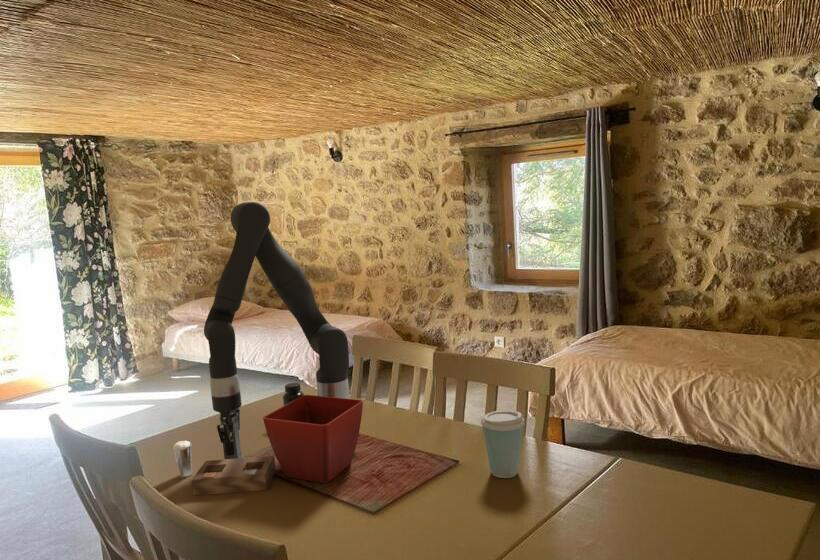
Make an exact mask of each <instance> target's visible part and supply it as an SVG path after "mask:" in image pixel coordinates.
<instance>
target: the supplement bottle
mask: <svg viewBox="0 0 820 560" xmlns="http://www.w3.org/2000/svg"><path fill="white" fill-rule="evenodd" d="M301 390H302V388H301V383H300V382H291V383H286V384H285V385H284V392H285V393H283V395H282V403H283V406H285V405H286V404H288V403H290V402H292V401H294V400H296V399H298V398H299V397H301V396H304V395H305V393H304V392H303V391H301Z"/></svg>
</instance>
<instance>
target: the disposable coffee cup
mask: <svg viewBox="0 0 820 560" xmlns="http://www.w3.org/2000/svg"><path fill="white" fill-rule="evenodd" d="M480 424H481V426H482V432H483V436H484V437H483V438H484V442H485V447H486V453H487V459H488V463H489V469H490V472H491V474H492V476H494V477H496V478H499V479H500V478H501V479H510V478H513V477H515V476H517V475H518V472H519V469H520V458H521V452H522V451H521V449H522V442H523V434H524V426H525V425H526V423H525V419H524V417H523V414H522V413H521V412H520V411H515V410H505V409H504V410H495V411H491V412H489V413H486V414H484V415H483V416H482V418H481V422H480Z"/></svg>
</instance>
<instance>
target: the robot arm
mask: <svg viewBox="0 0 820 560" xmlns="http://www.w3.org/2000/svg"><path fill="white" fill-rule="evenodd" d="M230 223H231V227H232V228H233V230H234V231H235V232H236V234H235V239H234V243H233V247H232V250H231V254H230V256H229V258H228V260H227V262H226V264H225V266H224V268H223V270H222V272H221V274H220V275H221V276H220V278H219V281H218V284H217V287H216V292H215V295H214V300H213V303H212V305H211V308H210V310H209V312H208V315H207V317H206V320H205V322H204V323H205V324H204V326H203V335H204V337H205V339H206V340H207V341H208V347H209V356H210V357H209V359H208V368H209V377H210V384H209V385H210V394H211V403H212V410H213V411H214V412H216V413H220V415H219V416H220V417H219V424H217V426H216V429H217V432H218V436H219V439H220V443H221V444H223V443H225V452H226V455H227V456H229V455H234V444H233V433H234V422H238V429H239V431H240V429H241V428H240V427H241V424H240V420H241V419H240V417H241V415H240V412H241V411H240V410H241V409H240V408H241V407H242V395H241V387H240V386H241V385H240V379H239V376H238V368H237V359H236V333H235V328H234V327H233V325H232V324H233V322H234V318H235V314H236V313H237V312H238V311H239V310H240V307H241V305H242V301H243V299H244V298H243V297H244V294H245V291H246V288H247V287H246V286H247V283H248V281H249V280H248V279H249V276H250V274H251V270H252V267H253V263H254V261H255V258H256V259H257V261H258V263H259V265H260V268H262V269H261V270H263V272H264V274H265V276H266V277H267V279H268V280H269V282H270V284H271V286H272V288H273V289H274V291H276V293H277V295H278V297H279V298H280V300H281V301H282V302H283V304H284V305H285V306H286V308H287V309H288V311H289V312H290V313H291V314H292V316H293V317H294V318H295V319H296V321H297V322H298V325H299V326H300V328H301V330H302V333H303V335H304V336H305V338H306V340H307V342H308V345H309V346H310V348H311V349H312V350H313V352H314V353H316V354H318V357H319V358H318V359H319V363H318V364H319V367H318V369H317V370H316V372H315V377H316V378H315V380H316V388H317V390H316V391H317V396H324V397H335V398H345V399H351V398H350V389H349V388H350V387H349V377H348V372H349V368H350V353H349V350H350V349H349V340H348V336H347V334H346V333H345V332H344V330H342V329H341V328H339V327H336V326H334V325H332V324H331V323H330V322H329V321H328V320H327V319H326V317H325V316H324V315H323V314H322V312H321V309H319V307H318V305H317V302H316V300H315V299H316V298H315V296H314V291H313V287H312V285H311V284H310V281H309V280H308V279H307V277H306V275H305V273H304V272H303V269H301V267H300V266H299V264H298V263H297V261H295V260H294V258H293V257H292V256H291V255H290V254H289V253H288V252H287V251H286V250H285V249H284V248H283V247H282V246H281V245H280V244H279V243H278V241H277V240H276V239H275V237H274V235H273V233H272V232H271V230H270V228H269V226H270V223H271V215H270V211H269V210H268V208H267V207H266V206H265V205H264V204H262V203H260V202H256V201H249V202H248V201H247V202H241V203H238V204H237V205H235V206H234V208H233V209H232V211H231V213H230ZM229 429H231V430H229ZM226 437H227V438H226Z"/></svg>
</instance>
